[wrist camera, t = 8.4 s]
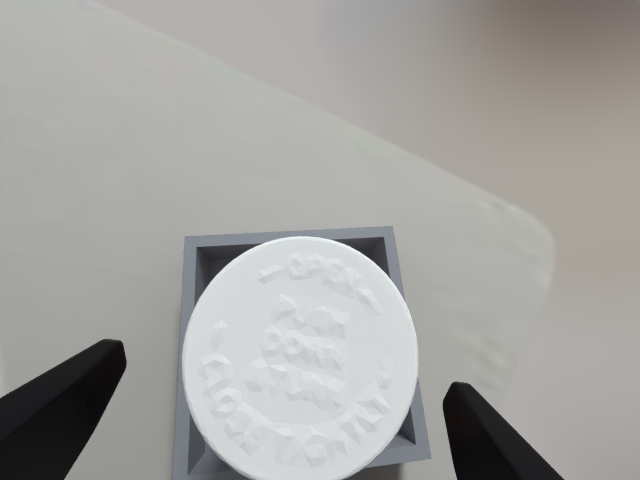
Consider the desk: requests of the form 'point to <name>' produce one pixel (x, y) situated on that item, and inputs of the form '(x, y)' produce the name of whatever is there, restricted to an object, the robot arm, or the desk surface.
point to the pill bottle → (300, 361)
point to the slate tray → (198, 271)
